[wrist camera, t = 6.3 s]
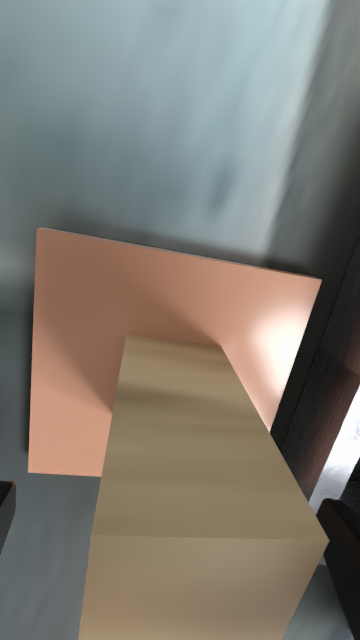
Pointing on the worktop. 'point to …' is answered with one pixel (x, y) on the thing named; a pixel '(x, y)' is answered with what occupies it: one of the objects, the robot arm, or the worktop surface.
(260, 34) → the worktop surface
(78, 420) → the terracotta tile
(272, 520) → the maple peg
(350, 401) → the grey slotted holder
